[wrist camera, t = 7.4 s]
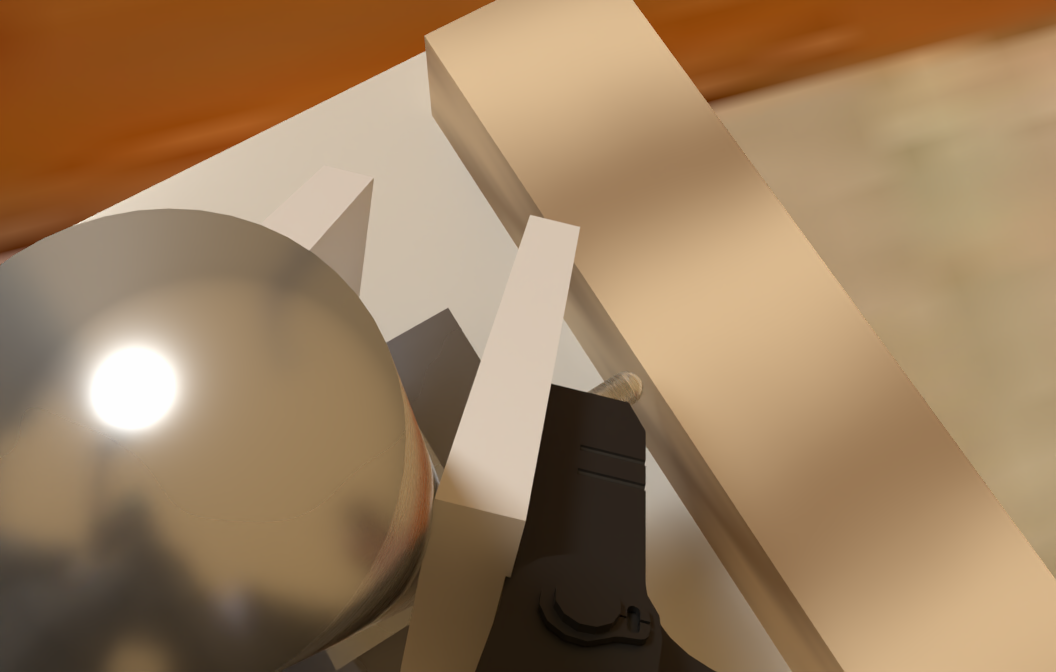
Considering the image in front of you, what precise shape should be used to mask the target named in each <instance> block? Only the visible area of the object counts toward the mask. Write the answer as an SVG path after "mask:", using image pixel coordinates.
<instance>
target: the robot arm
mask: <svg viewBox="0 0 1056 672" xmlns="http://www.w3.org/2000/svg"><path fill="white" fill-rule="evenodd" d="M373 182H374V177H371V176H367V175H362V174H358V173H354V172H350V171H346V170H342V169H338V168H333V167H329V166H325V165H324V166H323V167H322V168H321V169H320V170H319V171H317V172H316V173H315V174H314V175H313V176H312V177H311V178H310V179H309V180H308V181H307V182H305V183H304V184H303V185H302V186H301V187H300V188H299V189H298V190H297V191H296V192H295V193H293V194H292V195H291V196H290V197H289V198H288V199H287V200H286V201H285V202H284V203H283V204H281V205H280V206H279V207H278V208H277V209H276V210H275V211H274V212H273V213H272V214H271V215H269V216H268V217H267V218H266V219H265V220H264V221H263V222H262V223H261V224H260V225H262V226H265V227H267V228H269V229H271V230H273V231H275V232H278V233H280V234H282V235H284V236H286V237H288V238H290V239H292V240H293V241H295V242H296V243H298V244H300V245H301V246H303V247H304V248H306V249H308V250H309V251H311V252H313V253H314V254H315V255H316V256H318V257H319V258H320V259H321V260H322V261H324V262H325V263H326V264H327V265H328V266H330V267H331V268H332V269H333V270H334V271H336V272H337V273H338V274H339V275H340V276H341V278H342V279H343V280H344V281H345V282H346V283H347V284H348V285H349V286H350V287H351V288H352V290H353V291H354V292H355V293H356V294H357V295H358V297H359V296H360V288H361V280H362V272H363V263H364V255H365V247H366V239H367V231H368V223H369V215H370V207H371V199H372V191H373ZM579 231H580V227H578V226H574V225H570V224H566V223H562V222H558V221H553V220H549V219H545V218H541V217H537V216H533V215H530V217H529V220H528V223H527V226H526V229H525V231H524V234H523V237H522V240H521V243H520V246H519V249H518V252H517V255H516V258H515V261H514V264H513V267H512V270H511V273H510V276H509V279H508V282H507V285H506V288H505V291H504V294H503V297H502V300H501V303H500V306H499V309H498V312H497V315H496V317H495V320H494V323H493V326H492V329H491V332H490V335H489V338H488V341H487V344H486V347H485V350H484V353H483V356H482V359H481V362H480V365H479V368H478V371H477V374H476V377H475V380H474V383H473V386H472V389H471V392H470V395H469V398H468V401H467V403H466V406H465V409H464V412H463V415H462V418H461V421H460V424H459V427H458V430H457V433H456V436H455V439H454V442H453V445H452V448H451V451H450V454H449V457H448V460H447V463H446V466H445V469H444V472H443V475H442V478H441V481H440V484H439V487H438V489H437V492H436V495H435V498H434V503H433V519H432V527H431V534H430V538H429V542H428V546H427V550H426V553H425V556H424V559H423V561H422V564H421V569H420V574H419V579H418V584H417V589H416V594H415V599H414V604H413V609H412V614H411V620H410V625H409V630H408V635H407V640H406V645H405V650H404V655H403V660H402V665H401V670H400V672H716V671H714V670H712V669H710V668H709V667H707V666H706V665H704V664H703V663H701V662H700V661H698V660H697V659H695V658H693V657H692V656H690V655H689V654H688V653H687V652H686V651H684V650H683V649H682V648H681V647H680V646H679V645H678V644H677V643H676V642H675V641H674V640H672V639H671V638H670V636H669V635H668V634H667V632H666V631H665V630H664V628H663V627H662V626H661V624H660V616H659V614H658V612H657V611H656V609H655V607H654V605H653V604H652V602H651V600H650V599H649V597H648V595H647V589H646V491H645V485H646V466H645V461H646V431H645V429H644V427H643V426H642V424H641V422H640V421H639V419H638V417H637V415H636V414H635V412H634V410H633V409H632V407H631V405H630V404H629V402H625V401H621V400H617V399H613V398H609V397H604V396H600V395H596V394H592V393H588V392H584V391H580V390H576V389H571V388H567V387H563V386H559V385H555V384H551V382H552V376H553V371H554V366H555V360H556V355H557V349H558V344H559V339H560V333H561V328H562V322H563V317H564V312H565V306H566V301H567V295H568V290H569V285H570V279H571V274H572V268H573V263H574V258H575V252H576V247H577V241H578V236H579Z"/></svg>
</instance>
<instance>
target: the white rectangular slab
mask: <svg viewBox="0 0 1056 672" xmlns="http://www.w3.org/2000/svg"><path fill="white" fill-rule="evenodd" d="M324 165H325V166H329V167H333V168H338V169H342V170H346V171H350V172H354V173H358V174H362V175H367V176H371V177H374V182H373V191H372V199H371V207H370V215H369V223H368V231H367V239H366V247H365V255H364V263H363V272H362V280H361V288H360V296H359V298H360V300H361V301H362V302H363V304H364V305H365V307H366V308H367V310H368V311H369V312H370V314H371V315H372V317H373V318H374V320H375V322H376V324H377V326H378V328H379V330H380V332H381V334H382V336H383V338H384V340H385V342H388V341H390V340H392V339H393V338H395V337H397V336H399V335H400V334H402V333H404V332H406V331H408V330H409V329H411V328H413V327H415V326H416V325H418V324H420V323H422V322H423V321H425V320H427V319H429V318H431V317H432V316H434V315H436V314H438V313H439V312H441V311H443V310H445V309H447V308H449V310H450V311H451V313H452V315H453V316H454V318H455V319H456V321H457V323H458V324H459V326H460V328H461V329H462V331H463V332H464V334H465V336H466V337H467V339H468V341H469V342H470V344H471V345H472V347H473V349H474V350H475V352H476V353H477V355H478V357H479V358H480V360H481V359H482V356H483V353H484V350H485V347H486V344H487V341H488V338H489V335H490V332H491V329H492V326H493V323H494V320H495V317H496V315H497V312H498V309H499V306H500V303H501V300H502V297H503V294H504V291H505V288H506V285H507V282H508V279H509V276H510V273H511V270H512V267H513V264H514V261H515V258H516V255H517V252H518V248H517V246H516V244H515V243H514V241H513V240H512V238H511V237H510V235H509V234H508V232H507V231H506V229H505V227H504V226H503V224H502V223H501V221H500V220H499V218H498V217H497V215H496V214H495V212H494V210H493V209H492V207H491V206H490V204H489V203H488V201H487V200H486V198H485V197H484V195H483V193H482V192H481V190H480V189H479V187H478V186H477V184H476V183H475V181H474V180H473V178H472V176H471V175H470V173H469V172H468V170H467V169H466V167H465V166H464V164H463V163H462V161H461V159H460V158H459V156H458V155H457V153H456V152H455V150H454V149H453V147H452V146H451V144H450V142H449V141H448V139H447V138H446V136H445V135H444V133H443V132H442V130H441V129H440V127H439V125H438V124H437V122H436V121H435V119H434V118H433V116H432V112H431V101H430V91H429V80H428V69H427V58H426V51H425V52H423V53H421V54H419V55H417V56H415V57H413V58H411V59H409V60H407V61H405V62H403V63H401V64H399V65H397V66H395V67H393V68H391V69H389V70H387V71H385V72H383V73H381V74H379V75H377V76H375V77H373V78H371V79H369V80H367V81H364V82H362V83H360V84H358V85H356V86H354V87H352V88H350V89H348V90H346V91H344V92H342V93H340V94H338V95H336V96H334V97H332V98H330V99H328V100H326V101H324V102H322V103H320V104H318V105H316V106H314V107H312V108H310V109H308V110H306V111H304V112H302V113H300V114H298V115H296V116H294V117H292V118H290V119H288V120H286V121H284V122H282V123H280V124H278V125H276V126H274V127H272V128H270V129H268V130H266V131H264V132H261V133H259V134H257V135H255V136H253V137H251V138H249V139H247V140H245V141H243V142H241V143H239V144H237V145H235V146H233V147H231V148H229V149H227V150H225V151H223V152H221V153H219V154H217V155H215V156H213V157H211V158H209V159H207V160H205V161H203V162H201V163H199V164H197V165H195V166H193V167H191V168H189V169H187V170H185V171H183V172H181V173H179V174H177V175H175V176H173V177H171V178H169V179H167V180H165V181H163V182H161V183H158V184H156V185H154V186H152V187H150V188H148V189H146V190H144V191H142V192H140V193H138V194H136V195H134V196H132V197H130V198H128V199H126V200H124V201H122V202H120V203H118V204H116V205H114V206H112V207H110V208H108V209H106V210H104V211H102V212H100V213H98V214H96V215H94V216H92V217H90V218H88V219H86V220H84V221H82V222H80V223H78V224H81V223H84V222H88V221H91V220H94V219H98V218H101V217H104V216H109V215H115V214H120V213H126V212H131V211H137V210H152V209H168V208H171V209H189V210H203V211H208V212H214V213H219V214H225V215H231V216H234V217H237V218H241V219H244V220H247V221H250V222H254V223H257V224H261V223H262V222H263V221H264V220H265V219H266V218H267V217H268V216H269V215H271V214H272V213H273V212H274V211H275V210H276V209H277V208H278V207H279V206H280V205H281V204H283V203H284V202H285V201H286V200H287V199H288V198H289V197H290V196H291V195H292V194H293V193H295V192H296V191H297V190H298V189H299V188H300V187H301V186H302V185H303V184H304V183H305V182H307V181H308V180H309V179H310V178H311V177H312V176H313V175H314V174H315V173H316V172H317V171H319V170H320V169H321V168H322V167H323V166H324ZM78 224H76V225H78ZM603 382H604V380H603V379H602V377H601V376H600V374H599V373H598V371H597V370H596V368H595V367H594V365H593V363H592V362H591V360H590V359H589V357H588V356H587V354H586V353H585V351H584V350H583V348H582V346H581V345H580V343H579V342H578V340H577V339H576V337H575V336H574V334H573V333H572V331H571V329H570V328H569V326H568V325H567V323H566V322H565V320H564V319H563V322H562V328H561V333H560V339H559V344H558V349H557V355H556V360H555V366H554V371H553V376H552V382H551V384H555V385H559V386H563V387H567V388H571V389H576V390H580V391H584V392H588V391H589V390H591V389H593V388H594V387H596V386H598V385H599V384H601V383H603ZM645 466H646V485H645V491H646V589H647V595H648V597H649V599H650V600H651V602H652V604H653V605H654V607H655V609H656V611H657V612H658V614H659V616H660V624H661V626H662V627H663V628H664V630H665V631H666V632H667V634H668V635H669V636H670V638H671V639H672V640H674V641H675V642H676V643H677V644H678V645H679V646H680V647H681V648H682V649H683V650H684V651H686V652H687V653H688V654H689V655H690V656H692V657H693V658H695V659H697V660H698V661H700V662H701V663H703V664H704V665H706V666H707V667H709V668H710V669H712V670H714V671H716V672H792V671H791V669H790V668H789V666H788V665H787V663H786V662H785V660H784V659H783V657H782V655H781V654H780V652H779V651H778V649H777V648H776V646H775V645H774V643H773V642H772V640H771V638H770V637H769V635H768V634H767V632H766V631H765V629H764V628H763V626H762V625H761V623H760V621H759V620H758V618H757V617H756V615H755V614H754V612H753V611H752V609H751V608H750V606H749V604H748V603H747V601H746V600H745V598H744V597H743V595H742V594H741V592H740V591H739V589H738V587H737V586H736V584H735V583H734V581H733V580H732V578H731V577H730V575H729V574H728V572H727V570H726V569H725V567H724V566H723V564H722V563H721V561H720V560H719V558H718V557H717V555H716V553H715V552H714V550H713V549H712V547H711V546H710V544H709V543H708V541H707V540H706V538H705V536H704V535H703V533H702V532H701V530H700V529H699V527H698V526H697V524H696V523H695V521H694V519H693V518H692V516H691V515H690V513H689V512H688V510H687V509H686V507H685V506H684V504H683V502H682V501H681V499H680V498H679V496H678V495H677V493H676V492H675V490H674V489H673V487H672V485H671V484H670V482H669V481H668V479H667V478H666V476H665V475H664V473H663V472H662V470H661V468H660V467H659V465H658V464H657V462H656V461H655V459H654V458H653V456H652V455H651V453H650V451H649V450H648V448H647V447H646V461H645Z"/></svg>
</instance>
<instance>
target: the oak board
mask: <svg viewBox="0 0 1056 672" xmlns="http://www.w3.org/2000/svg"><path fill="white" fill-rule="evenodd" d="M424 37H425V48H426V58H427V69H428V80H429V91H430V101H431V112H432V116H433V118H434V119H435V121H436V122H437V124H438V125H439V127H440V129H441V130H442V132H443V133H444V135H445V136H446V138H447V139H448V141H449V142H450V144H451V146H452V147H453V149H454V150H455V152H456V153H457V155H458V156H459V158H460V159H461V161H462V163H463V164H464V166H465V167H466V169H467V170H468V172H469V173H470V175H471V176H472V178H473V180H474V181H475V183H476V184H477V186H478V187H479V189H480V190H481V192H482V193H483V195H484V197H485V198H486V200H487V201H488V203H489V204H490V206H491V207H492V209H493V210H494V212H495V214H496V215H497V217H498V218H499V220H500V221H501V223H502V224H503V226H504V227H505V229H506V231H507V232H508V234H509V235H510V237H511V238H512V240H513V241H514V243H515V244H516V246H517V248H518V249H519V246H520V243H521V240H522V237H523V234H524V231H525V229H526V226H527V223H528V220H529V217H530V215H533V216H537V217H541V218H545V219H549V220H553V221H558V222H562V223H566V224H570V225H574V226H578V227H580V231H579V236H578V241H577V247H576V252H575V258H574V263H573V268H572V274H571V279H570V285H569V290H568V295H567V301H566V306H565V312H564V317H563V319H564V320H565V322H566V323H567V325H568V326H569V328H570V329H571V331H572V333H573V334H574V336H575V337H576V339H577V340H578V342H579V343H580V345H581V346H582V348H583V350H584V351H585V353H586V354H587V356H588V357H589V359H590V360H591V362H592V363H593V365H594V367H595V368H596V370H597V371H598V373H599V374H600V376H601V377H602V379H603V380H604V381H606V380H607V379H609V378H611V377H612V376H614V375H616V374H618V373H620V372H623V371H629V372H633V373H635V374H636V375H638V376H639V378H640V379H641V381H642V383H643V394H642V396H641V398H640V399H639V401H637V402H636V403H635V404H633V405H631V407H632V409H633V410H634V412H635V414H636V415H637V417H638V419H639V421H640V422H641V424H642V426H643V427H644V429H645V431H646V447H647V448H648V450H649V451H650V453H651V455H652V456H653V458H654V459H655V461H656V462H657V464H658V465H659V467H660V468H661V470H662V472H663V473H664V475H665V476H666V478H667V479H668V481H669V482H670V484H671V485H672V487H673V489H674V490H675V492H676V493H677V495H678V496H679V498H680V499H681V501H682V502H683V504H684V506H685V507H686V509H687V510H688V512H689V513H690V515H691V516H692V518H693V519H694V521H695V523H696V524H697V526H698V527H699V529H700V530H701V532H702V533H703V535H704V536H705V538H706V540H707V541H708V543H709V544H710V546H711V547H712V549H713V550H714V552H715V553H716V555H717V557H718V558H719V560H720V561H721V563H722V564H723V566H724V567H725V569H726V570H727V572H728V574H729V575H730V577H731V578H732V580H733V581H734V583H735V584H736V586H737V587H738V589H739V591H740V592H741V594H742V595H743V597H744V598H745V600H746V601H747V603H748V604H749V606H750V608H751V609H752V611H753V612H754V614H755V615H756V617H757V618H758V620H759V621H760V623H761V625H762V626H763V628H764V629H765V631H766V632H767V634H768V635H769V637H770V638H771V640H772V642H773V643H774V645H775V646H776V648H777V649H778V651H779V652H780V654H781V655H782V657H783V659H784V660H785V662H786V663H787V665H788V666H789V668H790V669H791V671H792V672H1056V579H1055V578H1054V577H1053V575H1052V574H1051V573H1050V571H1049V570H1048V568H1047V567H1046V566H1045V564H1044V563H1043V562H1042V560H1041V559H1040V557H1039V556H1038V555H1037V553H1036V552H1035V551H1034V549H1033V548H1032V546H1031V545H1030V544H1029V542H1028V541H1027V540H1026V538H1025V537H1024V536H1023V534H1022V533H1021V531H1020V530H1019V529H1018V527H1017V526H1016V525H1015V523H1014V522H1013V520H1012V519H1011V518H1010V516H1009V515H1008V514H1007V512H1006V511H1005V510H1004V508H1003V507H1002V505H1001V504H1000V503H999V501H998V500H997V499H996V497H995V496H994V494H993V493H992V492H991V490H990V489H989V488H988V486H987V485H986V484H985V482H984V481H983V479H982V478H981V477H980V475H979V474H978V473H977V471H976V470H975V468H974V467H973V466H972V464H971V463H970V462H969V460H968V459H967V457H966V456H965V455H964V453H963V452H962V451H961V449H960V448H959V447H958V445H957V444H956V442H955V441H954V440H953V438H952V437H951V436H950V434H949V433H948V431H947V430H946V429H945V427H944V426H943V425H942V423H941V422H940V421H939V419H938V418H937V416H936V415H935V414H934V412H933V411H932V410H931V408H930V407H929V405H928V404H927V403H926V401H925V400H924V399H923V397H922V396H921V394H920V393H919V392H918V390H917V389H916V388H915V386H914V385H913V384H912V382H911V381H910V379H909V378H908V377H907V375H906V374H905V373H904V371H903V370H902V368H901V367H900V366H899V364H898V363H897V362H896V360H895V359H894V358H893V356H892V355H891V353H890V352H889V351H888V349H887V348H886V347H885V345H884V344H883V342H882V341H881V340H880V338H879V337H878V336H877V334H876V333H875V332H874V330H873V329H872V327H871V326H870V325H869V323H868V322H867V321H866V319H865V318H864V316H863V315H862V314H861V312H860V311H859V310H858V308H857V307H856V305H855V304H854V303H853V301H852V300H851V299H850V297H849V296H848V295H847V293H846V292H845V290H844V289H843V288H842V286H841V285H840V284H839V282H838V281H837V279H836V278H835V277H834V275H833V274H832V273H831V271H830V270H829V269H828V267H827V266H826V264H825V263H824V262H823V260H822V259H821V258H820V256H819V255H818V253H817V252H816V251H815V249H814V248H813V247H812V245H811V244H810V243H809V241H808V240H807V238H806V237H805V236H804V234H803V233H802V232H801V230H800V229H799V227H798V226H797V225H796V223H795V222H794V221H793V219H792V218H791V216H790V215H789V214H788V212H787V211H786V210H785V208H784V207H783V206H782V204H781V203H780V201H779V200H778V199H777V197H776V196H775V195H774V193H773V192H772V190H771V189H770V188H769V186H768V185H767V184H766V182H765V181H764V180H763V178H762V177H761V175H760V174H759V173H758V171H757V170H756V169H755V167H754V166H753V164H752V163H751V162H750V160H749V159H748V158H747V156H746V155H745V153H744V152H743V151H742V149H741V148H740V147H739V145H738V144H737V143H736V141H735V140H734V138H733V137H732V136H731V134H730V133H729V132H728V130H727V129H726V127H725V126H724V125H723V123H722V122H721V121H720V119H719V118H718V117H717V115H716V114H715V112H714V111H713V110H712V108H711V107H710V106H709V104H708V103H707V101H706V100H705V99H704V97H703V96H702V95H701V93H700V92H699V91H698V89H697V88H696V86H695V85H694V84H693V82H692V81H691V80H690V78H689V77H688V75H687V74H686V73H685V71H684V70H683V69H682V67H681V66H680V64H679V63H678V62H677V60H676V59H675V58H674V56H673V55H672V54H671V52H670V51H669V49H668V48H667V47H666V45H665V44H664V43H663V41H662V40H661V38H660V37H659V36H658V34H657V33H656V32H655V30H654V29H653V28H652V26H651V25H650V23H649V22H648V21H647V19H646V18H645V17H644V15H643V14H642V12H641V11H640V10H639V8H638V7H637V6H636V4H635V3H634V1H633V0H496V1H494V2H492V3H490V4H488V5H486V6H484V7H482V8H480V9H478V10H476V11H474V12H472V13H470V14H468V15H466V16H464V17H461V18H459V19H457V20H455V21H453V22H451V23H449V24H447V25H445V26H443V27H441V28H439V29H437V30H435V31H433V32H431V33H429V34H427V35H425V36H424Z"/></svg>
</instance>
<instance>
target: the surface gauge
mask: <svg viewBox="0 0 1056 672" xmlns="http://www.w3.org/2000/svg"><path fill="white" fill-rule="evenodd" d="M480 362H481V360H480V358H479V357H478V355H477V353H476V352H475V350H474V349H473V347H472V345H471V344H470V342H469V341H468V339H467V337H466V336H465V334H464V332H463V331H462V329H461V328H460V326H459V324H458V323H457V321H456V319H455V318H454V316H453V315H452V313H451V311H450V310H449V308H447V309H445V310H443V311H441V312H439V313H438V314H436V315H434V316H432V317H431V318H429V319H427V320H425V321H423V322H422V323H420V324H418V325H416V326H415V327H413V328H411V329H409V330H408V331H406V332H404V333H402V334H400V335H399V336H397V337H395V338H393V339H392V340H390V341H388V342H385V340H384V338H383V336H382V334H381V332H380V330H379V328H378V326H377V324H376V322H375V320H374V318H373V317H372V315H371V314H370V312H369V311H368V310H367V308H366V307H365V305H364V304H363V302H362V301H361V300H360V298H359V297H358V295H357V294H356V293H355V292H354V291H353V290H352V288H351V287H350V286H349V285H348V284H347V283H346V282H345V281H344V280H343V279H342V278H341V276H340V275H339V274H338V273H337V272H336V271H334V270H333V269H332V268H331V267H330V266H328V265H327V264H326V263H325V262H324V261H322V260H321V259H320V258H319V257H318V256H316V255H315V254H314V253H313V252H311V251H309V250H308V249H306V248H304V247H303V246H301V245H300V244H298V243H296V242H295V241H293V240H292V239H290V238H288V237H286V236H284V235H282V234H280V233H278V232H275V231H273V230H271V229H269V228H267V227H265V226H262V225H260V224H257V223H254V222H250V221H247V220H244V219H241V218H237V217H234V216H231V215H225V214H219V213H214V212H208V211H203V210H189V209H171V208H168V209H152V210H137V211H131V212H126V213H120V214H115V215H109V216H104V217H101V218H98V219H94V220H91V221H88V222H84V223H81V224H78V225H74V226H72V227H69V228H67V229H65V230H62V231H60V232H58V233H55V234H53V235H51V236H48V237H46V238H44V239H42V240H40V241H38V242H36V243H35V244H33V245H31V246H29V247H28V248H26V249H24V250H22V251H21V252H19V253H17V254H15V255H14V256H12V257H11V258H9V259H8V260H7V261H5V262H4V263H2V264H1V265H0V672H400V670H401V665H402V660H403V655H404V650H405V645H406V640H407V635H408V630H409V625H410V620H411V614H412V609H413V604H414V599H415V594H416V589H417V584H418V579H419V574H420V569H421V564H422V561H423V559H424V556H425V553H426V550H427V546H428V542H429V538H430V534H431V527H432V519H433V503H434V498H435V495H436V492H437V489H438V487H439V484H440V481H441V478H442V475H443V472H444V469H445V466H446V463H447V460H448V457H449V454H450V451H451V448H452V445H453V442H454V439H455V436H456V433H457V430H458V427H459V424H460V421H461V418H462V415H463V412H464V409H465V406H466V403H467V401H468V398H469V395H470V392H471V389H472V386H473V383H474V380H475V377H476V374H477V371H478V368H479V365H480ZM588 393H592V394H596V395H600V396H604V397H609V398H613V399H617V400H621V401H625V402H629V404H630V405H633V404H635V403H636V402H637V401H639V399H640V398H641V396H642V394H643V383H642V381H641V379H640V378H639V376H638V375H636V374H635V373H633V372H629V371H623V372H620V373H618V374H616V375H614V376H612V377H611V378H609V379H607V380H606V381H604V382H603V383H601V384H599V385H598V386H596V387H594V388H593V389H591V390H589V391H588Z"/></svg>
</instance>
